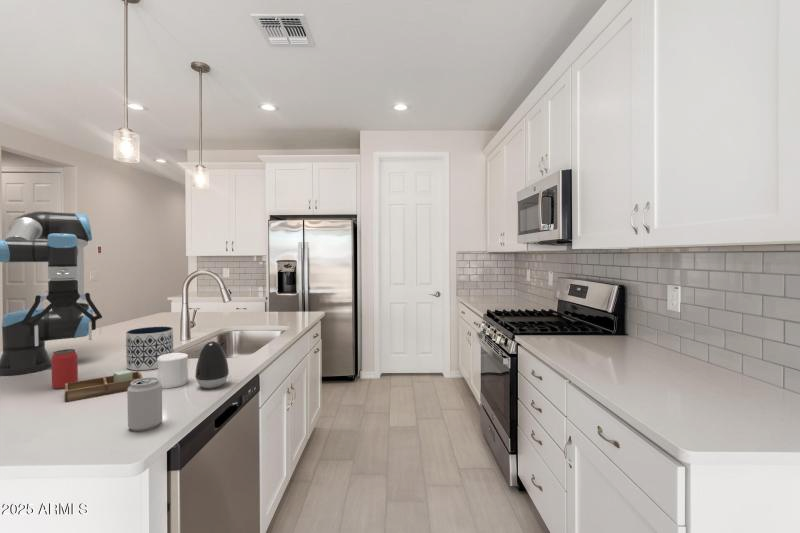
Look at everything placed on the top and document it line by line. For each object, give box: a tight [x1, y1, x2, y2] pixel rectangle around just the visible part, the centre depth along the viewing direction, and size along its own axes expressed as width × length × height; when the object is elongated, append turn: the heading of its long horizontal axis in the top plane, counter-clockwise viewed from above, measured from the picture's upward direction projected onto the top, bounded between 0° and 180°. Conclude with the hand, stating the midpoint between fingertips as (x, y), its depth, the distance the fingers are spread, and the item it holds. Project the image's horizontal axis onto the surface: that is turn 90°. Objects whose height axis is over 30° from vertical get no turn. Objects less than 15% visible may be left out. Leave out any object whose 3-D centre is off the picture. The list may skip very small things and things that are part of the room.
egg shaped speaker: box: [194, 340, 230, 389], centre depth 130 cm, size 10×10×15 cm
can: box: [126, 376, 163, 432], centre depth 99 cm, size 8×8×12 cm
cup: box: [156, 352, 189, 389], centre depth 132 cm, size 10×10×10 cm
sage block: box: [113, 369, 133, 383], centre depth 129 cm, size 4×4×4 cm
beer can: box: [51, 348, 79, 390], centre depth 130 cm, size 7×7×12 cm
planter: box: [125, 326, 174, 372], centre depth 155 cm, size 16×16×14 cm
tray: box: [64, 371, 144, 403], centre depth 126 cm, size 10×20×3 cm, turn 131°
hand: (64, 342), depth 129 cm, fingers open, 13 cm apart
